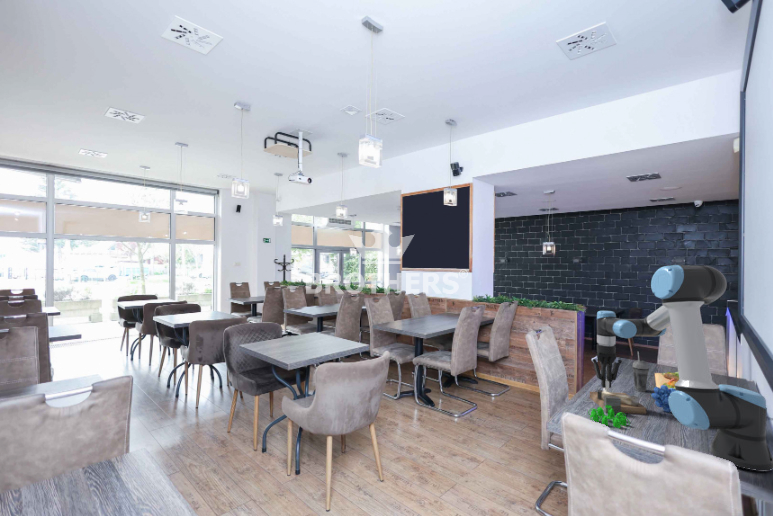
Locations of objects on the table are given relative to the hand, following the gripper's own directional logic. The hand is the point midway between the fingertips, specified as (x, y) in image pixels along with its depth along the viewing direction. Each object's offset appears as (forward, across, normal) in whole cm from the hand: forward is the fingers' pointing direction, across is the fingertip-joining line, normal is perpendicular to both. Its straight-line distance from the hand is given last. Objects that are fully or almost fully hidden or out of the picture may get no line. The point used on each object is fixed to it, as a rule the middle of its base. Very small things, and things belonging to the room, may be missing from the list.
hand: (606, 394), depth 173 cm
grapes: (+5, -22, +8) cm, 24 cm away
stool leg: (+1, -8, +8) cm, 11 cm away
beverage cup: (+5, -26, -21) cm, 34 cm away
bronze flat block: (+4, -4, +2) cm, 6 cm away
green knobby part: (+5, +8, +20) cm, 22 cm away
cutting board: (+6, -51, -30) cm, 60 cm away
